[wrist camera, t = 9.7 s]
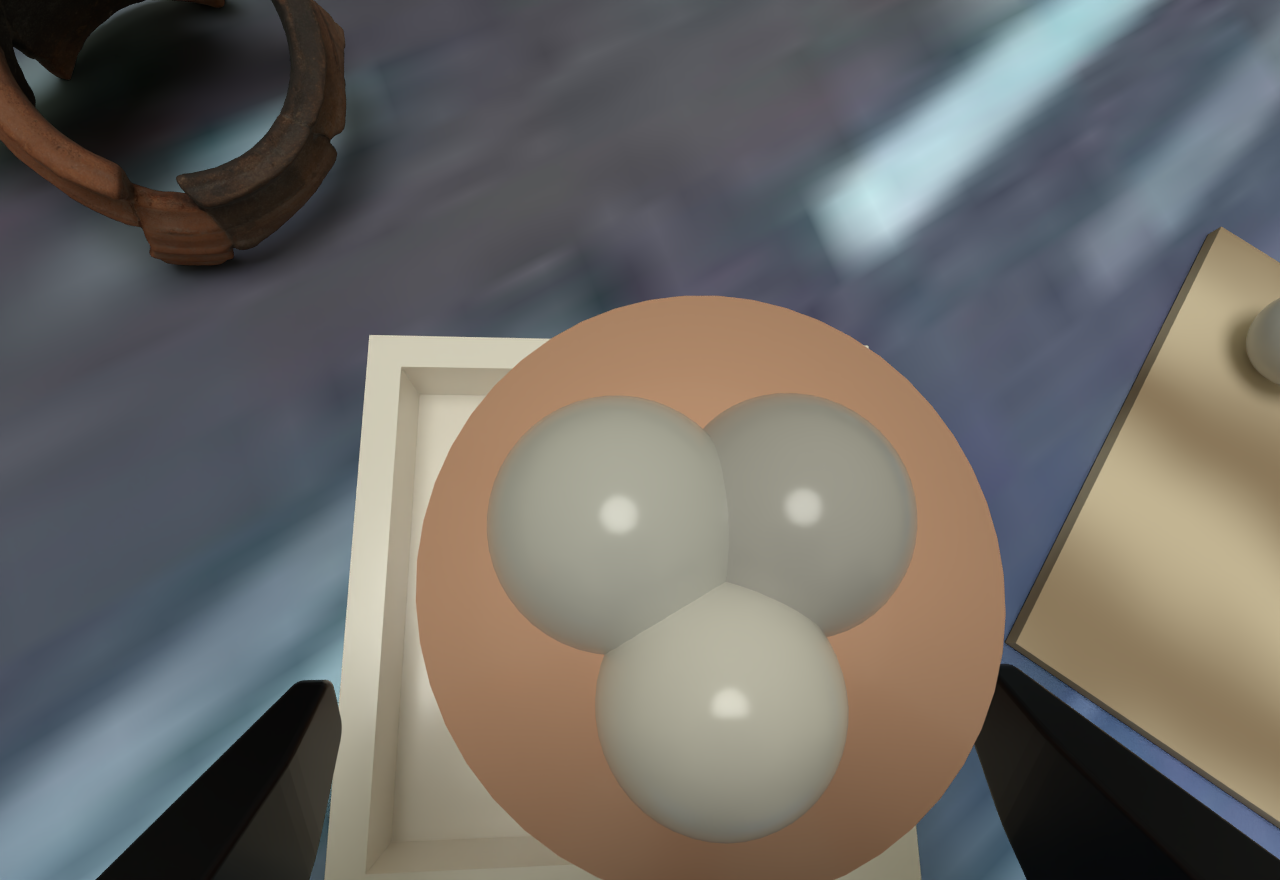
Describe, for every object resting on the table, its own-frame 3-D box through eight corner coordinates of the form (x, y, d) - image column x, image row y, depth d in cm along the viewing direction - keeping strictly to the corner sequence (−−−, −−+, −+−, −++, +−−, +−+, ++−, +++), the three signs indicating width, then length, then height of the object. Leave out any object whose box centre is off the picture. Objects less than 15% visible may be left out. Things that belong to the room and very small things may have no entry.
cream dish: (867, 846, 18) (922, 889, 16) (362, 870, 17) (320, 920, 14) (828, 382, 21) (868, 345, 19) (398, 375, 20) (369, 335, 17)
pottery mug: (315, -27, 24) (322, -175, 17) (365, 262, 26) (390, 244, 19) (-168, -65, 19) (-459, -297, 12) (-60, 292, 21) (-250, 283, 14)
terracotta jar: (766, 627, 19) (1213, 634, 6) (599, 762, 18) (681, 1159, 5) (645, 462, 20) (793, 142, 7) (476, 581, 18) (247, 477, 5)
